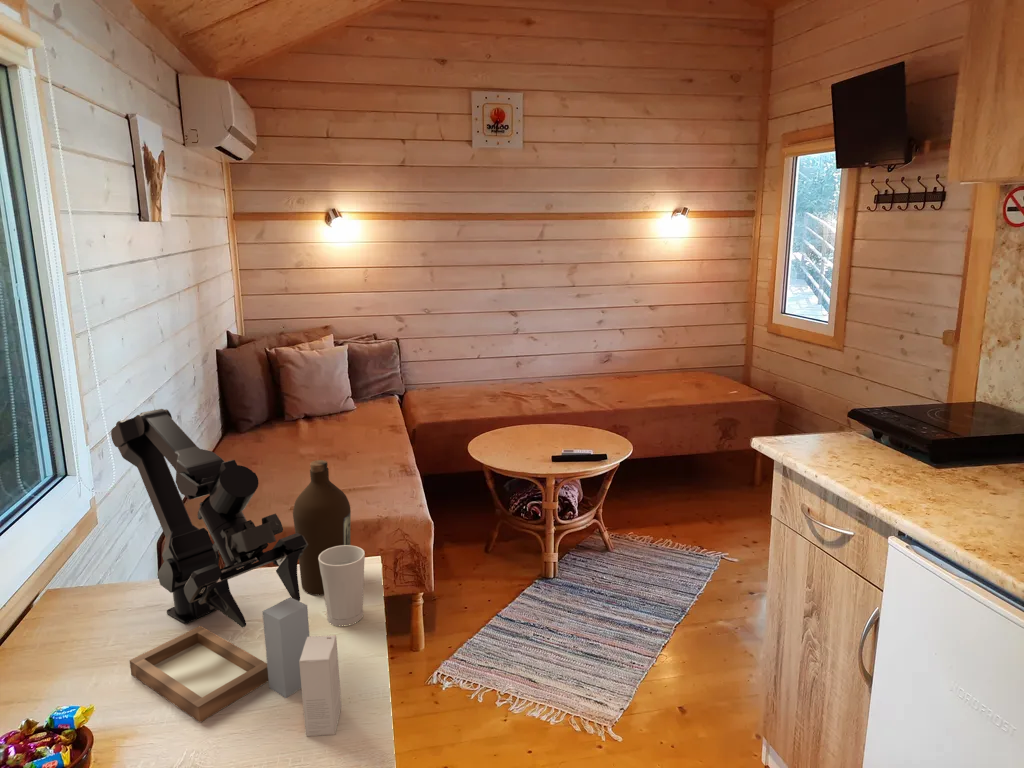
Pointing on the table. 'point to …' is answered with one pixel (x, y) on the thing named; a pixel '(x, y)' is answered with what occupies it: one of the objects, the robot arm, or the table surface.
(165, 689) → the wooden frame
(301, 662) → the skincare box
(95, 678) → the table surface
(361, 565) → the cup
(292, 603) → the tall grey pillar block
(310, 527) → the olive oil
